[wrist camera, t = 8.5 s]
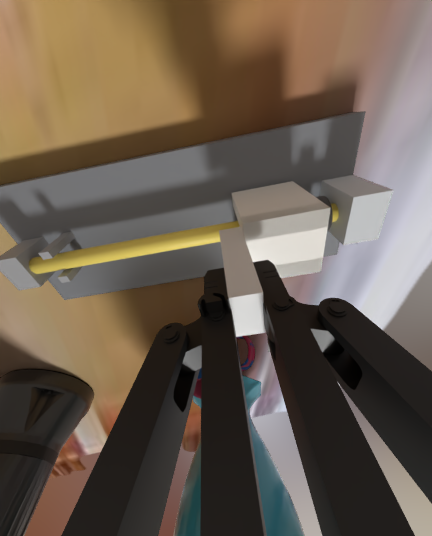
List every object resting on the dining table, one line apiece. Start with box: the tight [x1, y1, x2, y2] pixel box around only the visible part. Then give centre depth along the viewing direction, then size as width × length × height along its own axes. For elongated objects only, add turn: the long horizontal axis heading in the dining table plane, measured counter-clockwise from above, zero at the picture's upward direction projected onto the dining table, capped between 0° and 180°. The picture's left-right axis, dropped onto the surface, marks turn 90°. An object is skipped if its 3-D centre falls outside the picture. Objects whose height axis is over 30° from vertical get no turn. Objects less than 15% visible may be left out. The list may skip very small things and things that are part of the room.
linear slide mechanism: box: [0, 112, 393, 300], centre depth 18 cm, size 30×12×6 cm, turn 100°
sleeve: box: [232, 181, 331, 278], centre depth 16 cm, size 5×5×6 cm
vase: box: [174, 375, 305, 536], centre depth 30 cm, size 17×17×30 cm
